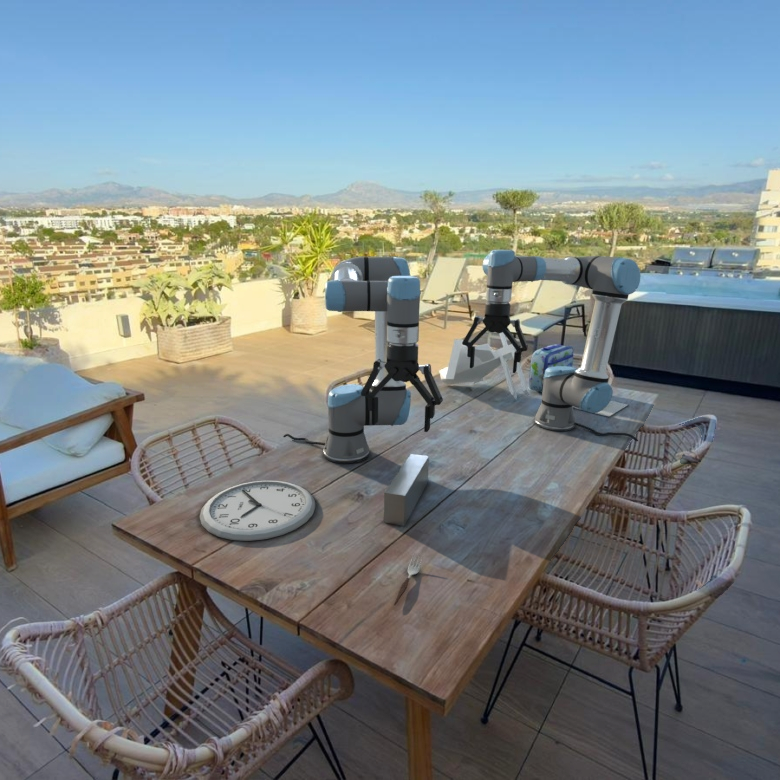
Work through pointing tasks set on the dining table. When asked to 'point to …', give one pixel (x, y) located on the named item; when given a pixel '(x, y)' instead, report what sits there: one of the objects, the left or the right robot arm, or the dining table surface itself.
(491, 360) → the white plastic object
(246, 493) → the wall clock
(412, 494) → the bar
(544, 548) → the dining table surface
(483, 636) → the dining table surface
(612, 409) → the invitation card
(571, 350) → the lunch box
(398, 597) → the fork
